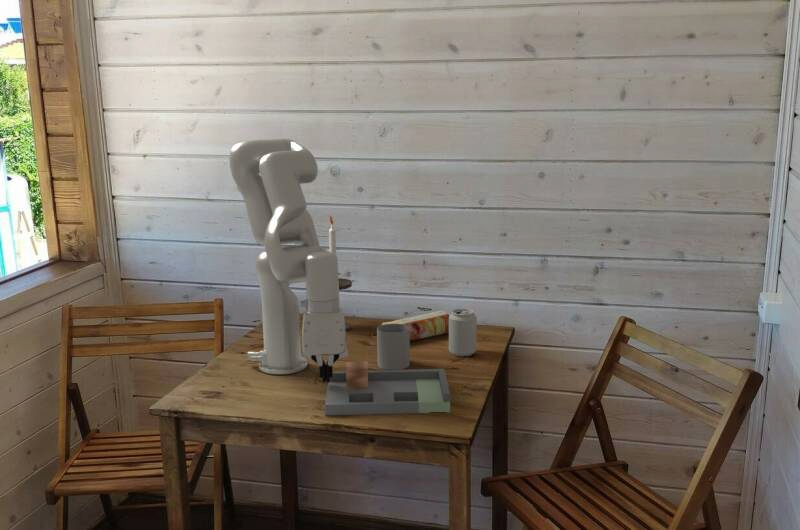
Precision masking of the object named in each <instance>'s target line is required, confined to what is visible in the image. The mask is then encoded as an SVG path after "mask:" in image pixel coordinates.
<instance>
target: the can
mask: <svg viewBox="0 0 800 530" xmlns="http://www.w3.org/2000/svg"><path fill="white" fill-rule="evenodd" d="M477 322H478V321H477V315H476V314H475V311H474V310H473V309H470V308H455V309H453V310H451V314H450V315H449V333H448V352H450V353H451V355H453V356H456V357H460V358H461V357H463V358H464V356H466V357H470V356H473V355H474V354H475V353H476V352H477V332H478V331H477ZM472 354H473V355H472Z"/></svg>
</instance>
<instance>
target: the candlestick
mask: <svg viewBox="0 0 800 530" xmlns="http://www.w3.org/2000/svg"><path fill="white" fill-rule="evenodd" d="M329 222H330V229H328V237H329V252H332V253H334V254H335V255H336V256H337V246H336V245H337V244H336V243H337V241H336V240H337V237H336V229H335V228H334V225H333V224H334V220H333V216H331V215H329ZM340 275H341V273H340V272H338V276H340ZM338 279H339V291H340V290H341V291H342V290H343V291H344V290H346V289H350V288H352V286H353V281H352V280H351V279H348V278H342V277H341V278H339V277H338ZM345 327H346V332H348V331H350V330H351V324H350V323H349V322H346V321H345ZM349 329H350V330H349ZM347 330H348V331H347Z"/></svg>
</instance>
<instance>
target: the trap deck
mask: <svg viewBox="0 0 800 530" xmlns="http://www.w3.org/2000/svg"><path fill="white" fill-rule="evenodd" d="M445 370H446V369H445V368H431V369H430V368H427V369H423V368H422V369H400V370H386V369H380V370H378V369H376V370H368V389H347V386H346V370H337V371H336V370H332V371H333V377H332V378H330V382H327V383H328V384H327V388H326V396H325V403H324V409H325V410H324V413H325V414H324V415H325V416H341V415H342V416H344V415H345V416H350V415H351V416H352V415H393V414H394V415H395V414H397V415H398V414H399V415H400V414H402V415H403V414H431V413H430V412H447V413H451V391H450V388H449V384H448V383H449V382H448V379H447V375H446V371H445Z"/></svg>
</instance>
